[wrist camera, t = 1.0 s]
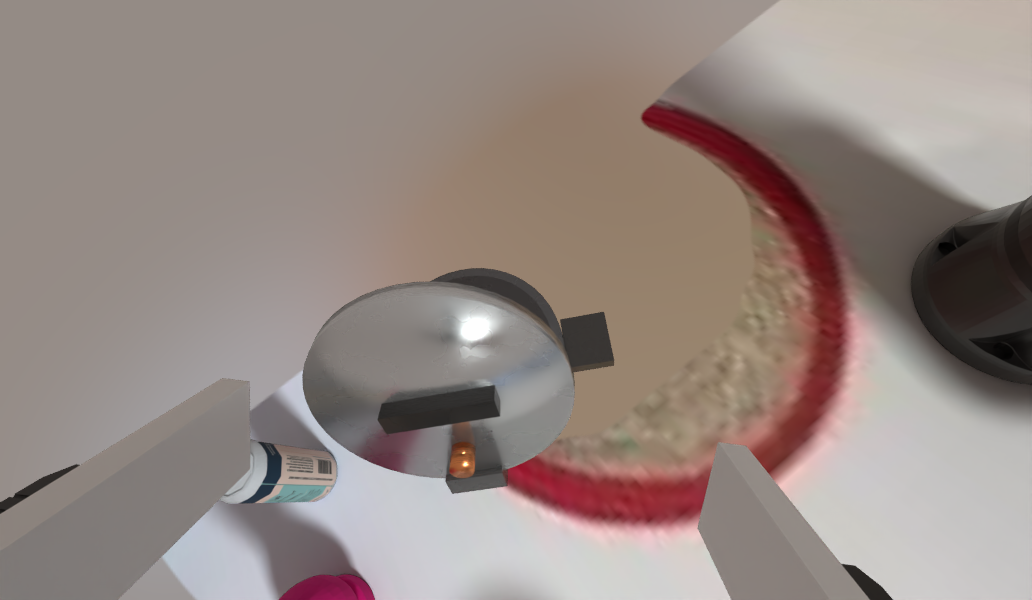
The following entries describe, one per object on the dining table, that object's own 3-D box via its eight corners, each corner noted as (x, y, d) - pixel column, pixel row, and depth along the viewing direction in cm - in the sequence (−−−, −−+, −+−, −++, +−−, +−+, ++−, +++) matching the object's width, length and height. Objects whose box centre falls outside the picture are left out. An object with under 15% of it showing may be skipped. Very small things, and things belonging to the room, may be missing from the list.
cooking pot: (595, 295, 49) (590, 244, 39) (626, 446, 43) (630, 432, 33) (391, 332, 52) (338, 294, 42) (394, 480, 46) (333, 476, 36)
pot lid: (546, 254, 24) (550, 287, 22) (589, 452, 34) (595, 488, 32) (256, 312, 26) (232, 347, 24) (377, 483, 36) (369, 519, 34)
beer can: (313, 441, 49) (227, 426, 38) (349, 463, 47) (270, 454, 37) (286, 487, 48) (189, 485, 37) (322, 511, 46) (232, 516, 35)
